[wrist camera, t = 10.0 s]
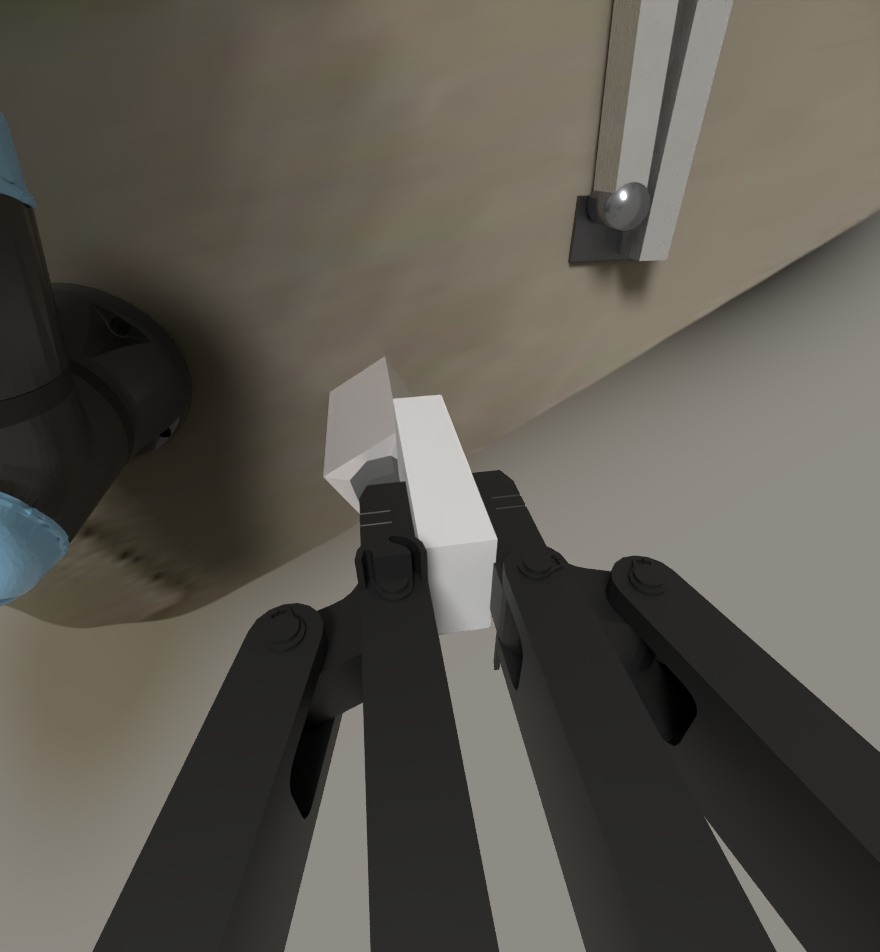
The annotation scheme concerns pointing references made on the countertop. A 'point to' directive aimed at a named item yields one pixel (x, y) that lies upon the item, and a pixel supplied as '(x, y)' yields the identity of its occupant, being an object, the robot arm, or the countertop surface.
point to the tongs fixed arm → (665, 141)
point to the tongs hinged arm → (631, 110)
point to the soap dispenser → (363, 431)
